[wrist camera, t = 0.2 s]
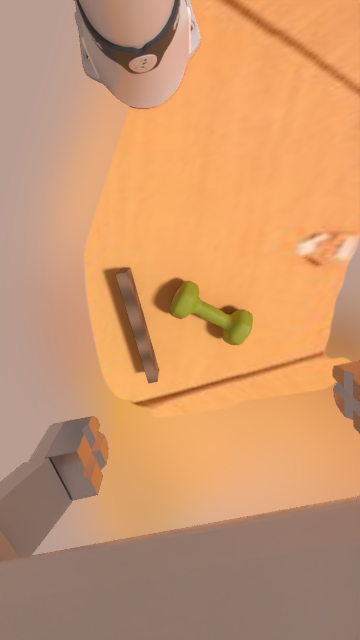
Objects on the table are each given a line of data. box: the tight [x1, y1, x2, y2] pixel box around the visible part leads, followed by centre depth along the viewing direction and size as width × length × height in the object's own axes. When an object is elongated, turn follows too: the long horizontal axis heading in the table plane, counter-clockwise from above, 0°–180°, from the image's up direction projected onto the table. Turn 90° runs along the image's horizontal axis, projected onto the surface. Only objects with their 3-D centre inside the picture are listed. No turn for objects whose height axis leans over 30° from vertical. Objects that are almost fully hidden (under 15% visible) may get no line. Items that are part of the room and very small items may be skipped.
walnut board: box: [116, 268, 159, 383], centre depth 57 cm, size 24×2×5 cm, turn 12°
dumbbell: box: [170, 281, 253, 345], centre depth 55 cm, size 16×8×7 cm, turn 61°
